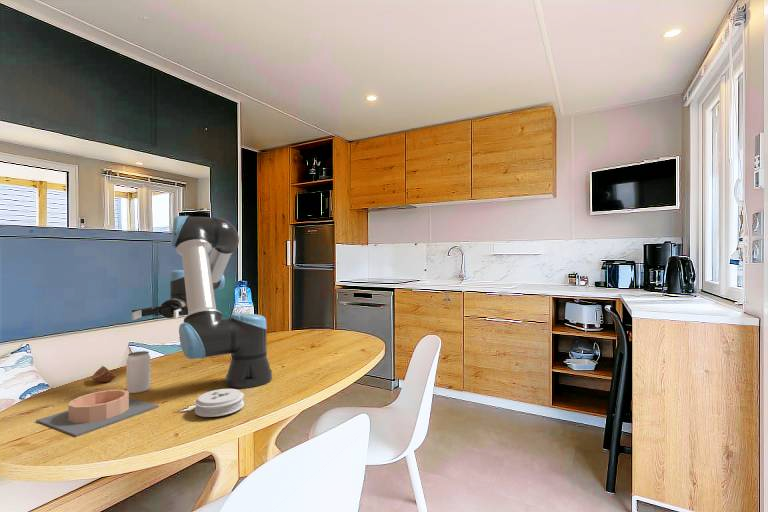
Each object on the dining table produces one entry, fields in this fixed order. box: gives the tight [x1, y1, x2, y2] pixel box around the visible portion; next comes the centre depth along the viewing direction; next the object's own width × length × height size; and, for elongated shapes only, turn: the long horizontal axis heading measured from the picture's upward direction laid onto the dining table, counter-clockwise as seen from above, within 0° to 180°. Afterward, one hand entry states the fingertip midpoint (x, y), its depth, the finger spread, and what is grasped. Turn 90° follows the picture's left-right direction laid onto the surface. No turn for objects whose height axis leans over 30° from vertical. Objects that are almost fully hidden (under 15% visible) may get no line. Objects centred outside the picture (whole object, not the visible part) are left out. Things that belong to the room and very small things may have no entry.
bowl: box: [67, 389, 130, 423], centre depth 103 cm, size 13×13×4 cm
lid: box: [194, 388, 245, 418], centre depth 104 cm, size 13×13×5 cm
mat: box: [35, 397, 160, 437], centre depth 103 cm, size 20×20×1 cm
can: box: [126, 350, 151, 394], centre depth 121 cm, size 6×6×12 cm
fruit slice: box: [91, 365, 117, 383], centre depth 130 cm, size 8×7×5 cm
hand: (154, 315), depth 136 cm, fingers open, 13 cm apart
